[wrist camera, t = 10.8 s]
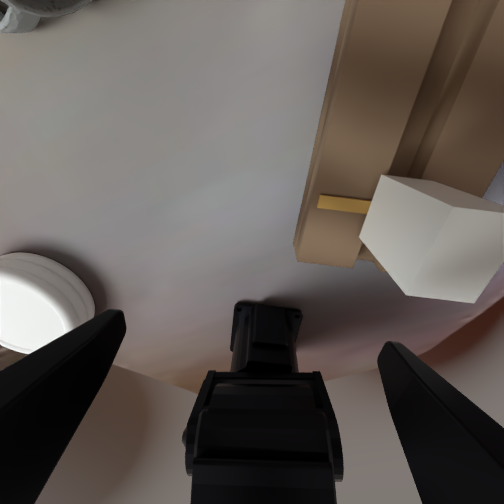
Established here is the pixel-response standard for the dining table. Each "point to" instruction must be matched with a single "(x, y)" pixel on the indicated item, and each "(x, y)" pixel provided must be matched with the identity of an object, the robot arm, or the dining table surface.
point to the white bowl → (39, 301)
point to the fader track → (402, 114)
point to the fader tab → (434, 238)
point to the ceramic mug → (34, 13)
